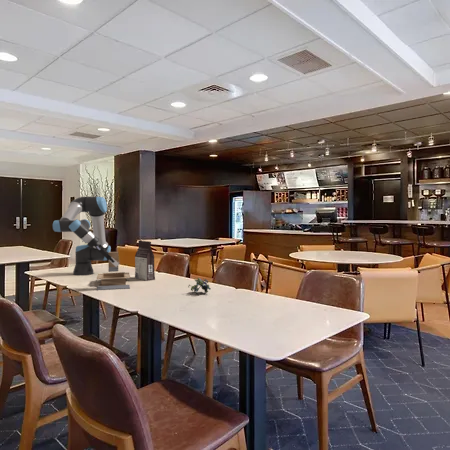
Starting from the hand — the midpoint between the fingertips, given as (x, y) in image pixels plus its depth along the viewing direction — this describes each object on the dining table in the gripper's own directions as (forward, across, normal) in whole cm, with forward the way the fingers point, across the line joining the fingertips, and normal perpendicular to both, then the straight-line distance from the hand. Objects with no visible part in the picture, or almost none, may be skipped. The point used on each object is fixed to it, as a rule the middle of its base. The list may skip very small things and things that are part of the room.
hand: (117, 264), depth 240 cm
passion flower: (+44, +31, +23) cm, 59 cm away
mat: (+9, 0, -12) cm, 15 cm away
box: (+1, 0, -5) cm, 5 cm away
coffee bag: (+24, -30, +3) cm, 38 cm away
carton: (+9, -20, -12) cm, 25 cm away
